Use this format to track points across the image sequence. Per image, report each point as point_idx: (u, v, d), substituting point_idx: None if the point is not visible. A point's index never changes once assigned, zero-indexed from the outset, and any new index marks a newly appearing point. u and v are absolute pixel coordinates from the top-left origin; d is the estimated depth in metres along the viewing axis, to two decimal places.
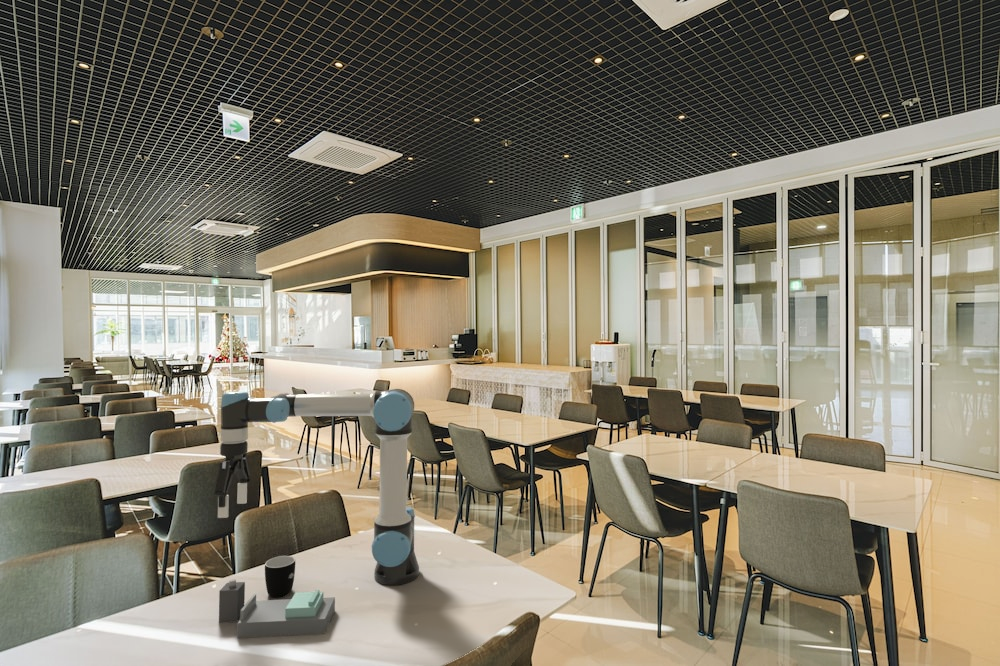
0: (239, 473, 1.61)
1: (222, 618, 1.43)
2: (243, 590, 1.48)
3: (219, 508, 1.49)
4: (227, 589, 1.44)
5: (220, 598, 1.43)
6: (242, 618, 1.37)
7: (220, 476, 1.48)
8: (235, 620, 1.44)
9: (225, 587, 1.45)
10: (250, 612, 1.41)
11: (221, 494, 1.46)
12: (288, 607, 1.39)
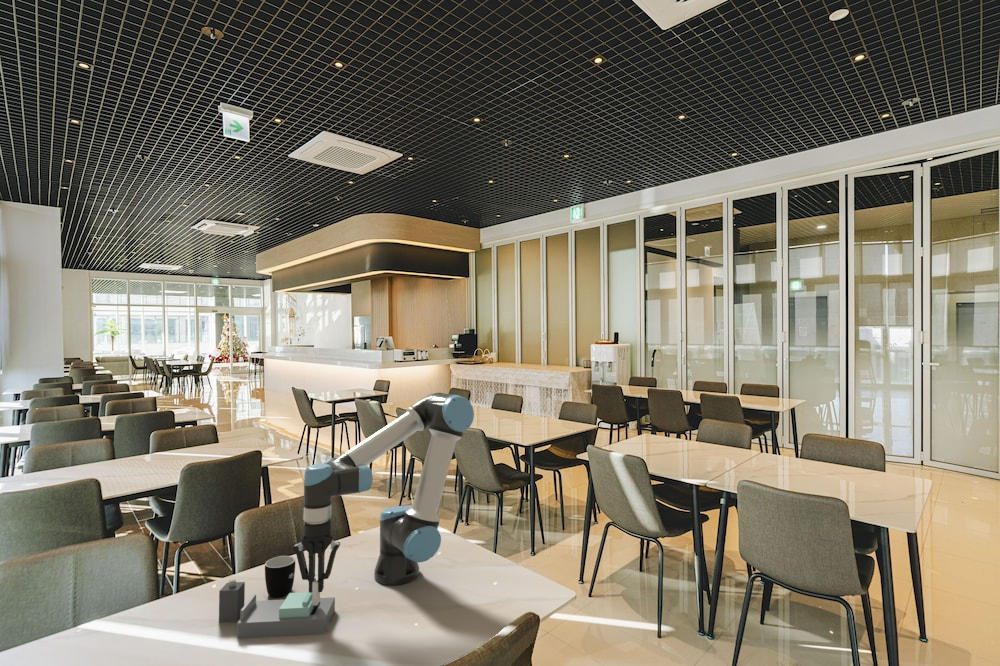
0: None
1: (222, 618, 1.43)
2: (243, 590, 1.48)
3: None
4: (227, 589, 1.44)
5: (220, 598, 1.43)
6: (242, 618, 1.37)
7: None
8: (235, 620, 1.44)
9: (225, 587, 1.45)
10: (250, 612, 1.41)
11: None
12: (282, 607, 1.39)
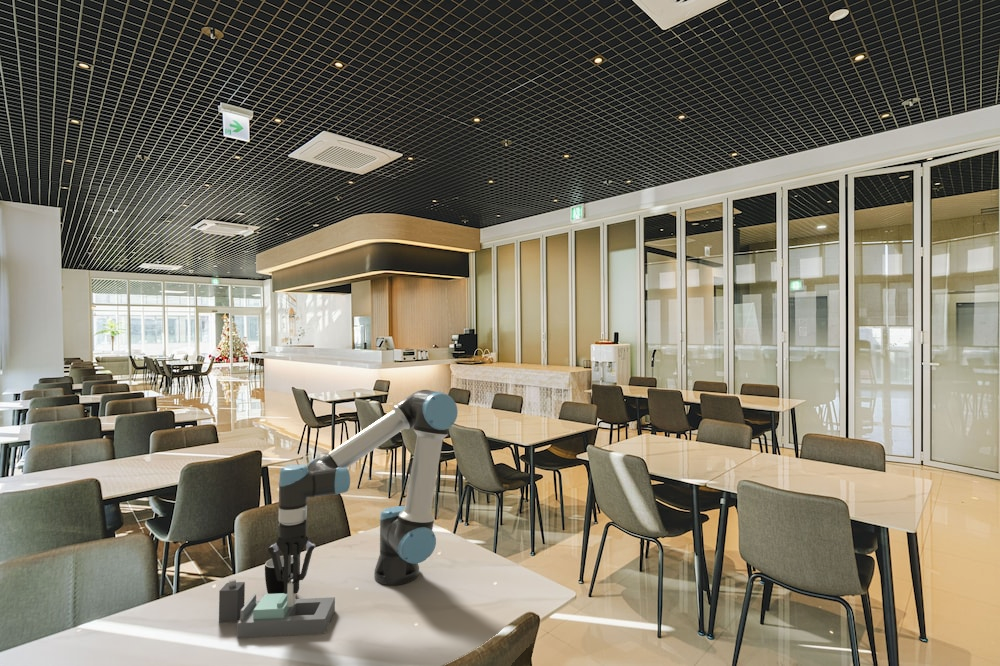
0: None
1: (222, 618, 1.43)
2: (243, 590, 1.48)
3: None
4: (227, 589, 1.44)
5: (220, 598, 1.43)
6: (242, 618, 1.37)
7: None
8: (235, 620, 1.44)
9: (225, 587, 1.45)
10: (250, 612, 1.41)
11: None
12: (256, 608, 1.38)
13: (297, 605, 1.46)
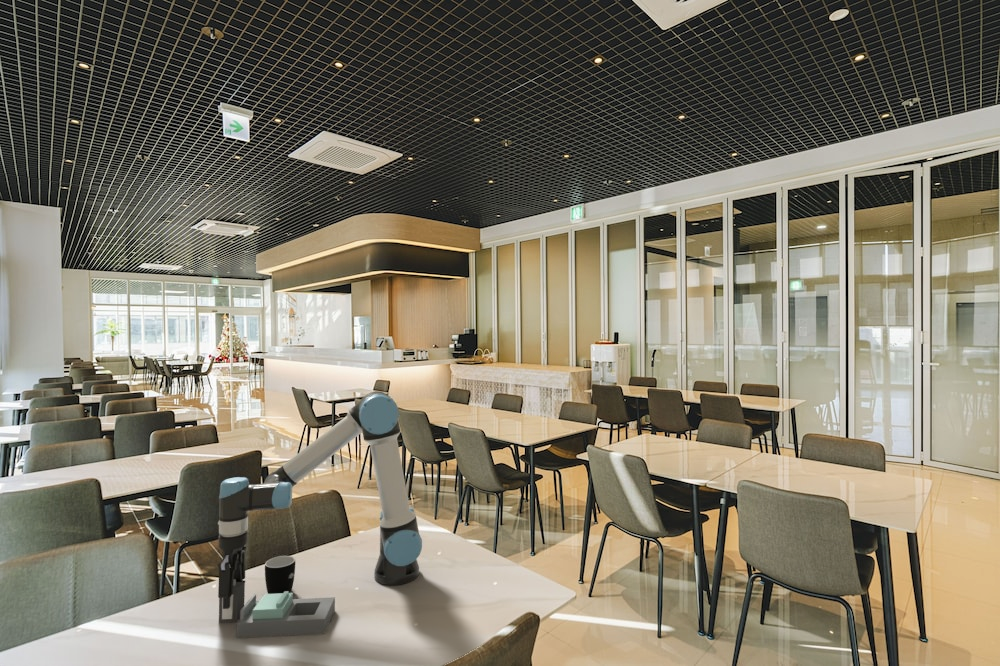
0: (235, 570, 1.48)
1: None
2: (243, 590, 1.48)
3: (223, 609, 1.43)
4: None
5: (220, 598, 1.43)
6: (242, 618, 1.37)
7: (221, 578, 1.40)
8: (235, 620, 1.44)
9: None
10: (250, 612, 1.41)
11: (225, 596, 1.40)
12: (255, 608, 1.38)
13: (297, 605, 1.46)
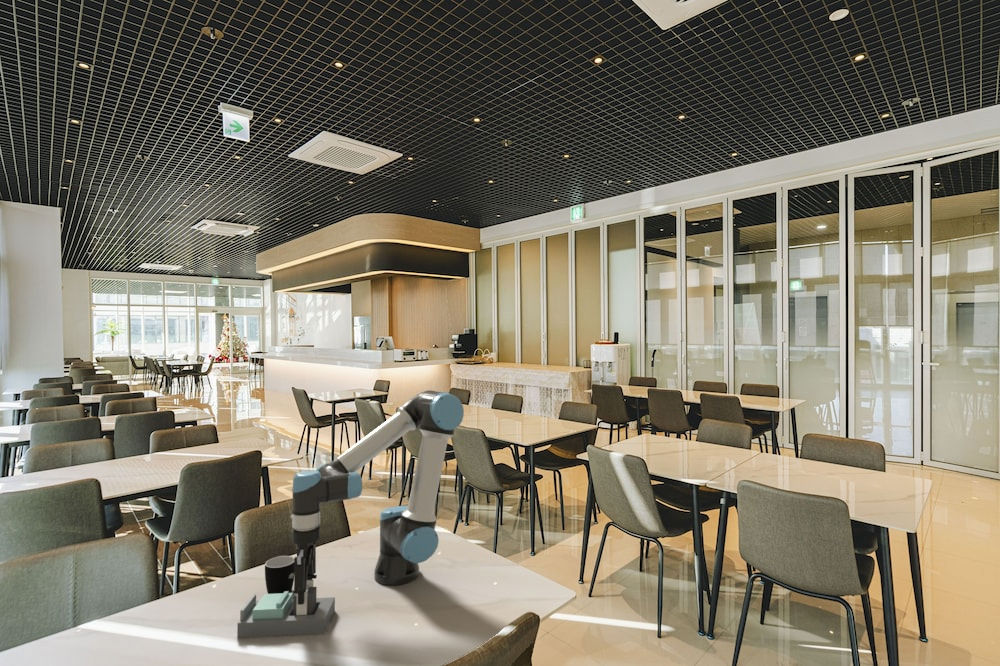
0: (307, 565, 1.46)
1: None
2: (315, 595, 1.45)
3: (298, 605, 1.40)
4: None
5: (294, 603, 1.41)
6: (242, 618, 1.37)
7: (297, 573, 1.37)
8: None
9: None
10: (250, 612, 1.41)
11: (301, 591, 1.37)
12: (255, 608, 1.38)
13: None
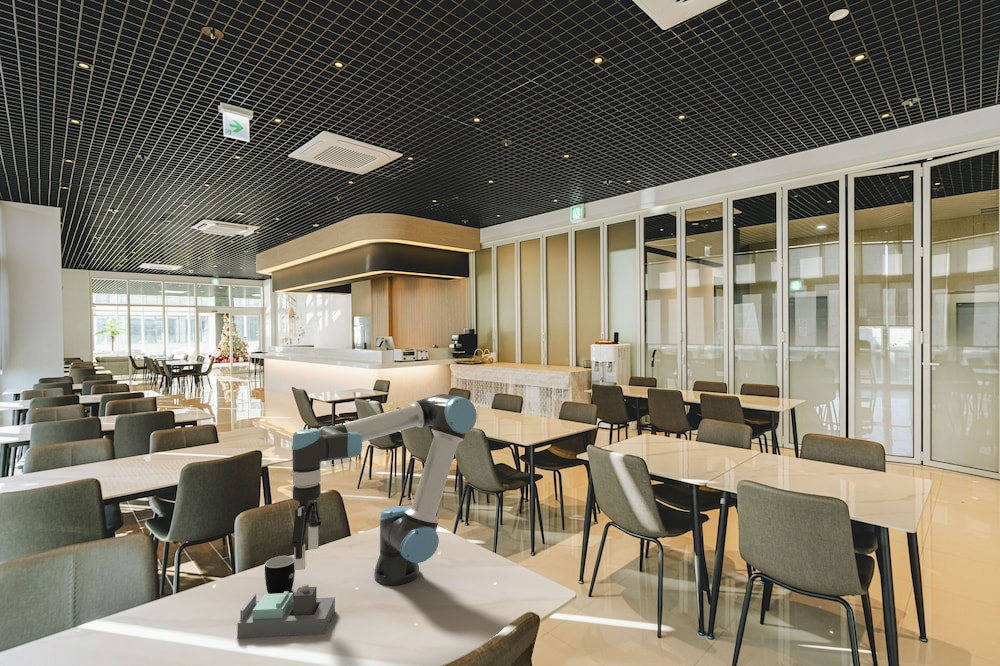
0: (310, 517, 1.48)
1: None
2: (315, 595, 1.45)
3: (296, 559, 1.37)
4: (301, 594, 1.41)
5: (294, 603, 1.41)
6: (242, 618, 1.37)
7: (296, 525, 1.36)
8: None
9: (298, 592, 1.43)
10: (250, 612, 1.41)
11: (299, 545, 1.34)
12: (255, 608, 1.38)
13: None
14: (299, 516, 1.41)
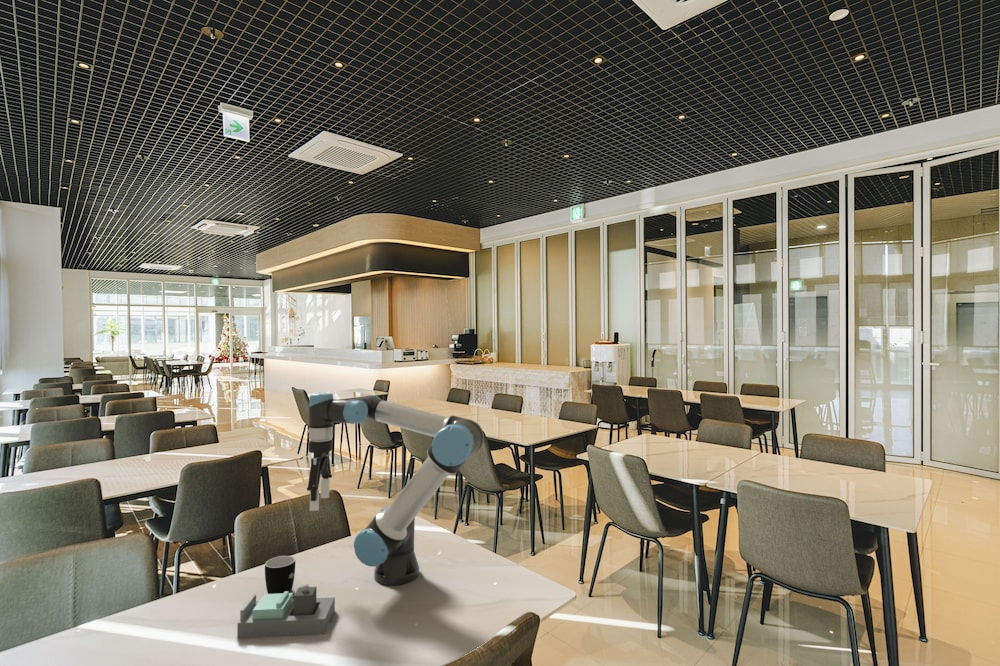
0: (323, 469, 1.71)
1: None
2: (315, 595, 1.45)
3: (311, 502, 1.59)
4: (301, 594, 1.41)
5: (294, 603, 1.41)
6: (242, 618, 1.37)
7: (312, 472, 1.59)
8: None
9: (298, 592, 1.43)
10: (250, 612, 1.41)
11: (314, 488, 1.57)
12: (255, 608, 1.38)
13: None
14: None
